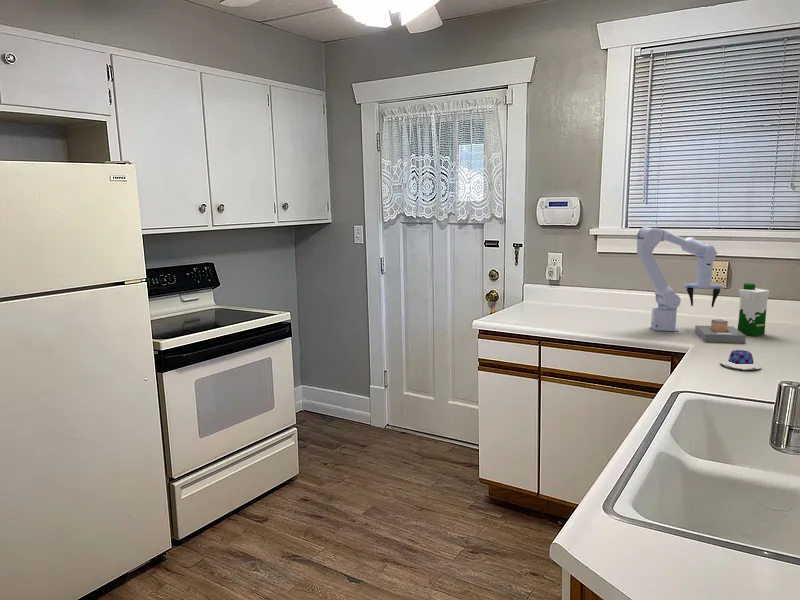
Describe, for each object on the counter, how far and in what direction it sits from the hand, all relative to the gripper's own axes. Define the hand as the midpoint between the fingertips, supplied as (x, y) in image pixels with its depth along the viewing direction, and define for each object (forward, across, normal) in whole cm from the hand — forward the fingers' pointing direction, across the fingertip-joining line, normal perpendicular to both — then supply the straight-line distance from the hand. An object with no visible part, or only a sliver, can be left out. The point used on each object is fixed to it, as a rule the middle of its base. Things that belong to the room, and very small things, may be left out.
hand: (702, 306), depth 254 cm
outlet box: (+9, +7, -16) cm, 20 cm away
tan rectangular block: (+10, +6, -16) cm, 20 cm away
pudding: (+10, +12, -57) cm, 59 cm away
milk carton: (+10, +18, -4) cm, 21 cm away
